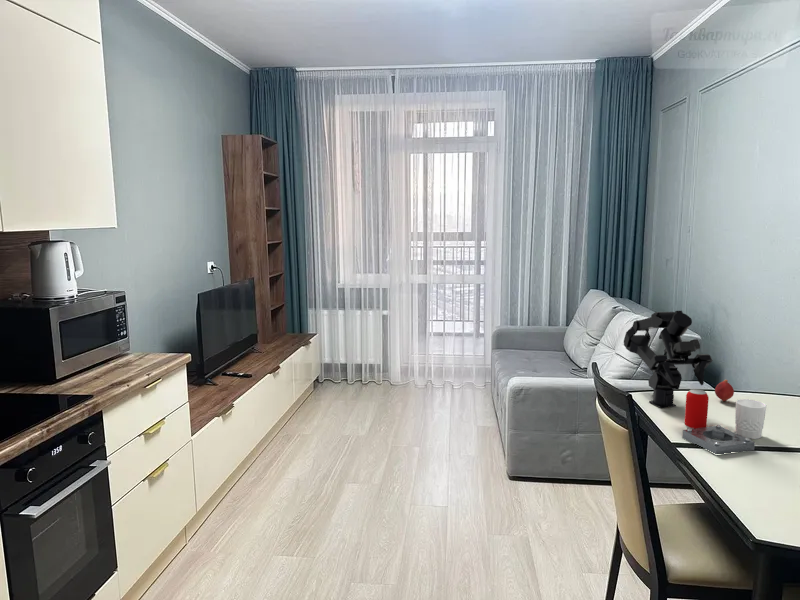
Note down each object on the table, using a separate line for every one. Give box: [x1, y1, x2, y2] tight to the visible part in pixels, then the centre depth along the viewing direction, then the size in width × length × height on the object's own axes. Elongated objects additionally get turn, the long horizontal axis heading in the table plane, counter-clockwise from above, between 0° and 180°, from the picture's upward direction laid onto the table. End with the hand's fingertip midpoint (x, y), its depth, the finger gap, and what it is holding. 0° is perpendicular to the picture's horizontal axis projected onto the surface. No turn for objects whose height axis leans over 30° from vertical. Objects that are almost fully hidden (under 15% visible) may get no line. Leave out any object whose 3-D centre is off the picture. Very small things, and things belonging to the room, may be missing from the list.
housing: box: [681, 424, 756, 455], centre depth 164 cm, size 13×13×3 cm
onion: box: [714, 379, 735, 402], centre depth 200 cm, size 6×6×8 cm
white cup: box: [734, 398, 767, 440], centre depth 170 cm, size 8×8×10 cm
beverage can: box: [684, 388, 710, 429], centre depth 176 cm, size 6×6×12 cm
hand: (688, 385), depth 181 cm, fingers open, 9 cm apart
